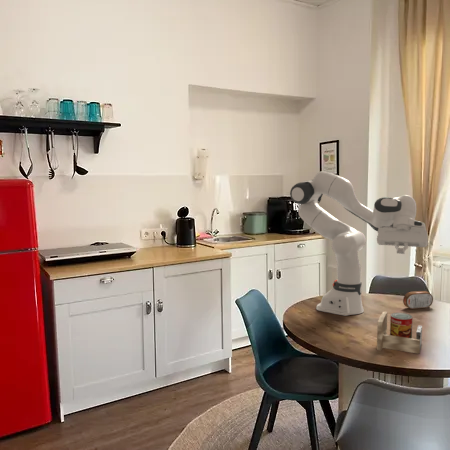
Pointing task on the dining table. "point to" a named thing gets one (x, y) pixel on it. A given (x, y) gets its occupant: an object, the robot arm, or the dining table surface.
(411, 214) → the robot arm
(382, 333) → the shelf wall
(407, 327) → the canned food
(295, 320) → the dining table surface
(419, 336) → the bookend
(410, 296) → the tin
